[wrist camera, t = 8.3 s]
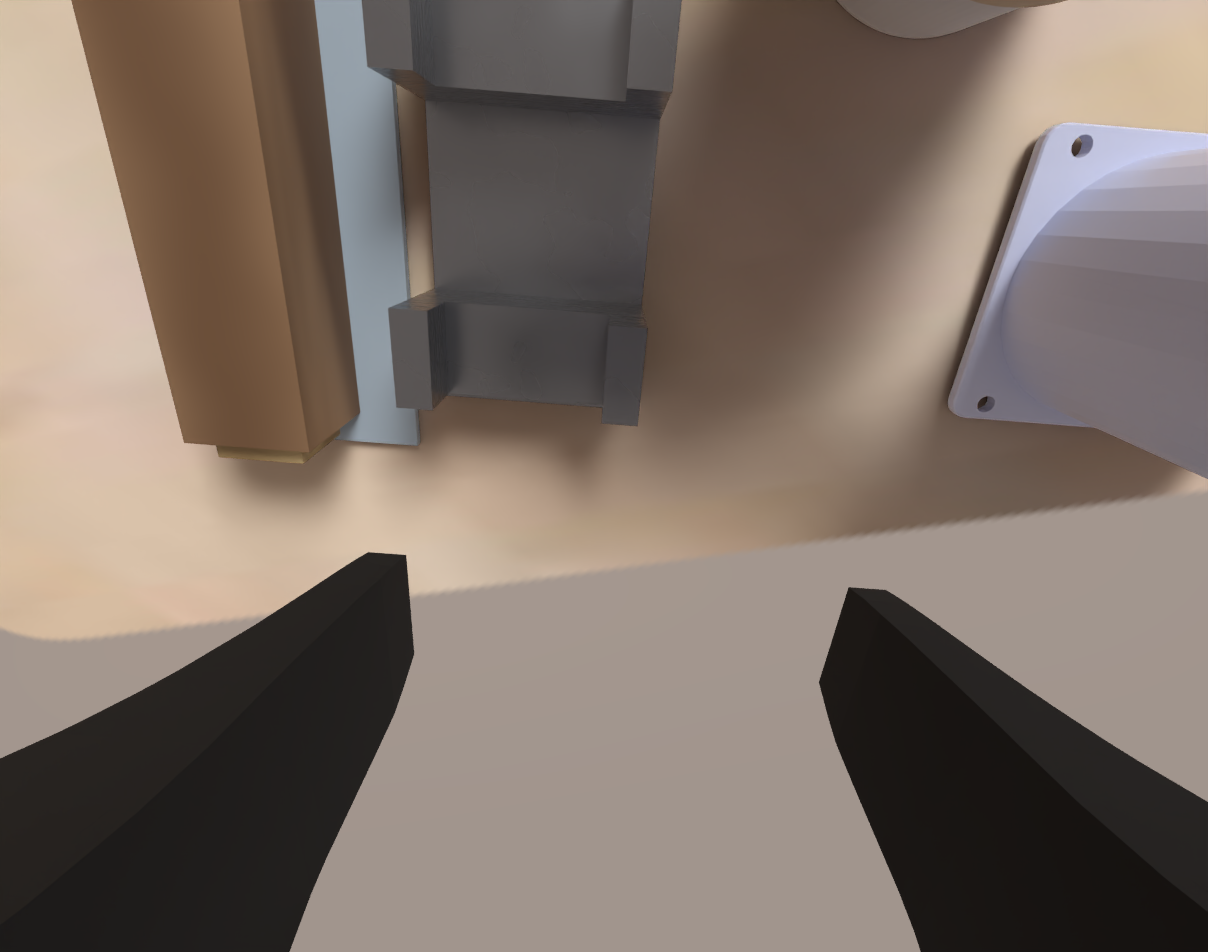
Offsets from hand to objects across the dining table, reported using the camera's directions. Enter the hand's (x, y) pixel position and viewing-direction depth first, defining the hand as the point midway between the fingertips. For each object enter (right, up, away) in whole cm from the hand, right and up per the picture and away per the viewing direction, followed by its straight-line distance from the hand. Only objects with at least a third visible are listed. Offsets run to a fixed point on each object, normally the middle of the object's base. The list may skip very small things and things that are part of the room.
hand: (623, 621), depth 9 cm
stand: (-2, +10, +7) cm, 12 cm away
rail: (-10, +10, +7) cm, 15 cm away
